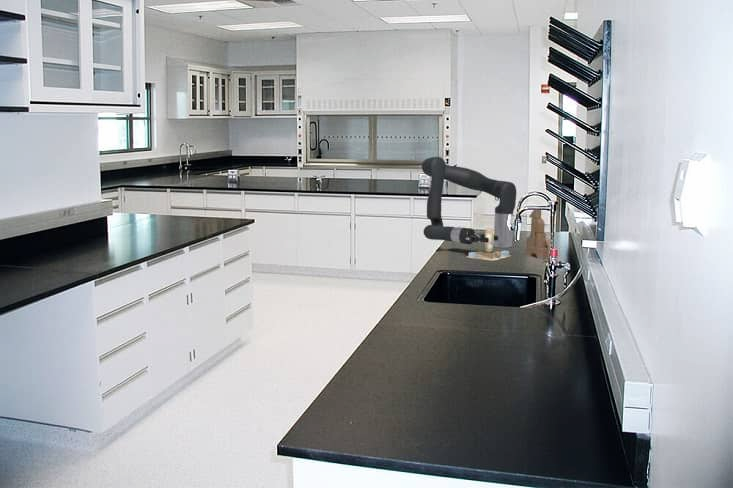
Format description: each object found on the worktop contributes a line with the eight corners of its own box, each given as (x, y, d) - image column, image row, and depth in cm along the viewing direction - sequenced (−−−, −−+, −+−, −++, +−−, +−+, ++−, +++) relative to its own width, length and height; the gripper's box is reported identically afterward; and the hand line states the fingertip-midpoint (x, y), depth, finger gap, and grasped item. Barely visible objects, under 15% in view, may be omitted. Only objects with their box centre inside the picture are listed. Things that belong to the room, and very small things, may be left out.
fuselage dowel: (486, 256, 328) (488, 228, 326) (494, 257, 326) (496, 229, 324) (482, 257, 325) (483, 228, 323) (490, 258, 323) (491, 229, 321)
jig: (485, 254, 339) (485, 247, 338) (511, 258, 330) (512, 250, 330) (465, 259, 325) (465, 251, 325) (492, 263, 317) (492, 255, 316)
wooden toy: (554, 261, 323) (557, 207, 319) (541, 262, 321) (544, 207, 317) (535, 255, 337) (538, 203, 333) (523, 256, 335) (525, 203, 331)
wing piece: (504, 254, 332) (504, 250, 332) (509, 255, 330) (509, 251, 330) (497, 256, 327) (498, 252, 327) (502, 257, 326) (502, 252, 326)
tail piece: (473, 256, 328) (473, 251, 327) (477, 256, 326) (478, 252, 326) (468, 257, 325) (468, 252, 324) (473, 257, 323) (473, 253, 323)
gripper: (454, 229, 327) (485, 232, 317) (471, 226, 338) (501, 229, 328) (454, 245, 328) (484, 249, 318) (470, 241, 339) (500, 245, 329)
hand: (493, 239), depth 323 cm, fingers open, 8 cm apart
